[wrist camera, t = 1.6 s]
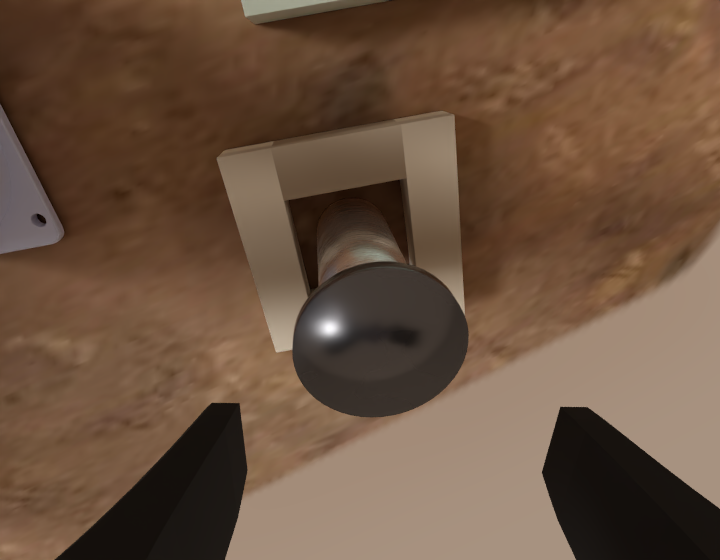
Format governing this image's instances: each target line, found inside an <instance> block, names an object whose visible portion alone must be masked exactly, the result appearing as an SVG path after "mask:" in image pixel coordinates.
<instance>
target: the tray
mask: <svg viewBox="0 0 720 560" xmlns="http://www.w3.org/2000/svg"><path fill="white" fill-rule="evenodd" d="M386 1H391V0H241V2H242V6H243V10H244V14H245V17H246V18H247V19H249V20H250V21H251V22H253V23H254V24H260V23H266V22H272V21H277V20H283V19H289V18H294V17H300V16H306V15H312V14H317V13H323V12H329V11H334V10H340V9H346V8H351V7H357V6H363V5H369V4H374V3H380V2H386Z"/></svg>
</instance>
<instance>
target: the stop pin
mask: <svg viewBox="0 0 720 560" xmlns="http://www.w3.org/2000/svg"><path fill="white" fill-rule="evenodd" d="M317 257H318V282H319V287H317V288H316V289H315V290H314V291H313V292H312V294H311V295H310V296H309V297H308V298H307V300H306V301H305V303H304V304H303V306H302V308H301V310H300V312H299V314H298V316H297V319H296V323H295V326H294V334H293V347H292V351H293V362H294V366H295V370H296V372H297V375H298V377H299V379H300V381H301V382H302V384H303V385H304V387H305V388H306V389H307V390H308V392H309V393H310V394H311V395H312V396H313V397H315V398H316V399H317V400H318V401H320V402H321V403H323V404H324V405H326V406H328V407H330V408H332V409H334V410H336V411H339V412H341V413H345V414H349V415H354V416H360V417H384V416H391V415H396V414H400V413H403V412H406V411H409V410H412V409H414V408H416V407H419V406H421V405H423V404H424V403H426V402H428V401H429V400H431V399H432V398H434V397H435V396H436V395H438V394H439V393H440V392H441V391H442V390H444V389H445V388H446V387H447V386H448V385H449V383H450V382H451V381H452V380H453V379H454V377H455V376H456V374H457V373H458V371H459V370H460V368H461V365H462V363H463V361H464V358H465V355H466V352H467V347H468V326H467V322H466V318H465V315H464V313H463V311H462V309H461V307H460V305H459V303H458V302H457V300H456V299H455V297H454V296H453V294H452V293H451V291H450V290H449V288H448V287H447V286H446V285H445V284H444V283H443V282H442V281H441V280H439V279H438V278H437V277H435V276H434V275H433V274H431V273H429V272H427V271H426V270H424V269H421V268H419V267H416V266H414V265H410V264H407V263H406V261H405V259H404V257H403V255H402V253H401V251H400V249H399V247H398V245H397V243H396V241H395V239H394V236H393V234H392V232H391V230H390V228H389V226H388V224H387V222H386V220H385V218H384V216H383V214H382V213H381V211H380V210H379V209H378V208H377V207H376V206H375V205H374V204H372V203H370V202H369V201H366V200H364V199H360V198H345V199H341V200H339V201H336V202H335V203H333V204H331V205H330V206H329V207H328V208H327V209H326V210H325V211H324V212H323V213H322V215H321V217H320V219H319V221H318V224H317Z"/></svg>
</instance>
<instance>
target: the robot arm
mask: <svg viewBox="0 0 720 560" xmlns="http://www.w3.org/2000/svg"><path fill="white" fill-rule="evenodd" d="M37 214H40V215H42V216H44V218H45V219H46V222H47V223H46V224H45V223H42V222H40V221H39V220H38V218H37ZM63 236H64V229H63V226H62V224H61V222H60V220H59V218H58V216H57V215H56V213H55V211H54V209H53V207H52V205H51V203H50V201H49V199H48V197H47V195H46V193H45V191H44V189H43V187H42V185H41V183H40V181H39V179H38V177H37V175H36V173H35V171H34V169H33V167H32V165H31V163H30V161H29V159H28V157H27V155H26V154H25V152H24V150H23V148H22V146H21V144H20V142H19V140H18V138H17V136H16V134H15V132H14V130H13V128H12V126H11V124H10V122H9V120H8V118H7V116H6V114H5V112H4V110H3V108H2V106H1V104H0V254H3V253H8V252H13V251H19V250H24V249H30V248H35V247H40V246H46V245H51V244H54V243H57V242H58V241H60V240H61V239H62V238H63ZM542 474H543V477H544V480H545V484H546V487H547V490H548V493H549V496H550V499H551V502H552V505H553V507H554V511H555V513H556V516H557V519H558V521H559V524H560V526H561V528H562V530H563V532H564V534H565V537H566V539H567V541H568V543H569V545H570V547H571V549H572V552H573V554H574V556H575V558H576V560H720V509H719V508H718V507H717V506H715V505H714V504H713V503H711V502H710V501H709V500H707V499H706V498H704V497H703V496H702V495H700V494H699V493H698V492H696V491H695V490H694V489H692V488H691V487H690V486H688V485H687V484H686V483H684V482H683V481H682V480H681V479H679V478H678V477H677V476H675V475H674V474H673V473H671V472H670V471H669V470H668V469H666V468H665V467H664V466H662V465H661V464H660V463H659V462H657V461H656V460H655V459H653V458H652V457H651V456H650V455H648V454H647V453H646V452H645V451H643V450H642V449H640V448H639V447H638V446H637V445H636V444H634V443H633V442H632V441H631V440H629V439H628V438H627V437H626V436H624V435H623V434H622V433H621V432H619V431H618V430H617V429H615V428H614V427H613V426H612V425H610V424H609V423H608V422H606V421H605V420H604V419H603V418H601V417H600V416H599V415H597V414H596V413H594V412H593V411H592V410H590V409H589V408H588V407H560V410H559V414H558V417H557V421H556V424H555V428H554V432H553V435H552V439H551V442H550V446H549V449H548V453H547V456H546V460H545V463H544V467H543V471H542ZM246 475H247V463H246V454H245V446H244V438H243V430H242V421H241V413H240V405H239V403H211V404H210V405H209V406H208V407H207V408H206V409H205V410H204V411H203V412H202V413H201V415H200V416H199V417H198V418H197V419H196V420H195V421H194V422H193V424H192V425H191V426H190V427H189V428H188V429H187V430H186V431H185V432H184V434H183V435H182V436H181V437H180V438H179V439H178V440H177V441H176V442H175V443H174V445H173V446H172V447H171V448H170V449H169V450H168V451H167V452H166V453H165V454H164V455H163V456H162V457H161V458H160V460H159V461H158V462H157V463H156V464H155V465H154V466H153V467H152V468H151V469H150V470H149V471H148V472H147V473H146V474H145V475H144V476H143V477H142V478H141V479H140V480H139V481H138V482H137V483H136V484H135V485H134V487H133V488H132V489H131V490H129V491H128V492H127V493H126V494H125V495H124V496H123V497H122V498H121V499H120V500H119V501H118V502H117V503H116V504H115V505H114V506H113V507H112V508H111V509H110V510H109V511H108V512H107V513H106V514H105V515H104V516H103V517H101V518H100V519H99V520H98V521H97V522H96V523H95V524H94V525H93V526H92V527H91V528H90V529H89V530H88V531H87V532H85V533H84V534H83V535H82V536H81V537H80V538H79V539H78V540H77V541H75V542H74V543H73V544H72V545H71V546H70V547H69V548H68V549H66V550H65V551H64V552H63V553H62V554H61V555H60V556H58V557H57V558H56V559H55V560H225V557H226V554H227V551H228V547H229V544H230V541H231V538H232V535H233V531H234V528H235V525H236V522H237V518H238V514H239V510H240V505H241V500H242V495H243V490H244V485H245V480H246Z"/></svg>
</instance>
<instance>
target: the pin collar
mask: <svg viewBox="0 0 720 560" xmlns="http://www.w3.org/2000/svg"><path fill="white" fill-rule="evenodd" d="M216 159H217V162H218V165H219V168H220V172H221V175H222V178H223V181H224V185H225V188H226V191H227V194H228V198H229V201H230V204H231V207H232V211H233V214H234V217H235V220H236V224H237V227H238V230H239V233H240V237H241V240H242V243H243V246H244V250H245V253H246V256H247V259H248V263H249V266H250V269H251V272H252V276H253V279H254V282H255V285H256V289H257V292H258V295H259V298H260V302H261V305H262V308H263V311H264V315H265V318H266V321H267V324H268V328H269V331H270V334H271V337H272V341H273V344H274V347H275V350H276V353H277V352H282V351H287V350H292V347H293V334H294V326H295V323H296V319H297V316H298V314H299V312H300V310H301V308H302V306H303V304H304V303H305V301H306V300H307V298H308V297H309V296H310V295H311V294H312V292H313V291H314V290H315V289H316V288H315V289H310V287H309V283H308V279H307V275H306V271H305V267H304V262H303V258H302V254H301V250H300V246H299V242H298V238H297V234H296V229H295V225H294V221H293V217H292V213H291V209H290V205H289V200H291V199H297V198H302V197H308V196H313V195H318V194H324V193H329V192H335V191H340V190H345V189H351V188H356V187H362V186H367V185H372V184H378V183H383V182H389V181H394V180H399V179H400V184H401V193H402V201H403V210H404V219H405V227H406V236H407V245H408V253H409V262H410V265H414V266H416V267H419V268H421V269H424V270H426V271H427V272H429V273H431V274H433V275H434V276H435V277H437V278H438V279H439V280H441V281H442V282H443V283H444V284H445V285H446V286H447V287H448V288H449V290H450V291H451V293H452V294H453V296H454V297H455V299H456V300H457V302H458V303H459V305H460V307H461V309H462V311H463V313H464V315H465V308H464V289H463V270H462V251H461V232H460V213H459V194H458V175H457V155H456V136H455V117H454V114H451V113H448V112H445V111H436V112H431V113H425V114H420V115H414V116H409V117H403V118H398V119H392V120H387V121H381V122H376V123H370V124H365V125H359V126H354V127H348V128H343V129H337V130H332V131H326V132H321V133H315V134H310V135H304V136H299V137H293V138H288V139H282V140H277V141H271V142H266V143H260V144H255V145H249V146H244V147H238V148H233V149H227V150H224V151H223V152H222V153H221V154H220V155H219V156H218V157H217V158H216Z"/></svg>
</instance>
